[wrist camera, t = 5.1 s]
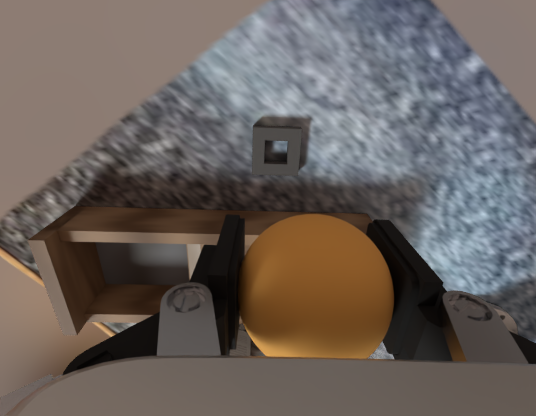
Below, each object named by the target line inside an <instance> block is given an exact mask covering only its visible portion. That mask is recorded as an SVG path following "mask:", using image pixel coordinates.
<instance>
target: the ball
mask: <svg viewBox="0 0 536 416" xmlns="http://www.w3.org/2000/svg"><path fill="white" fill-rule="evenodd" d="M393 308H394V289H393V282H392V278H391V274H390V271H389V268H388V265H387V264H386V262H385V260H384V258H383V256H382V254H381V252H380V251H379V249H378V248H377V247H376V246H375V244H374V243H373V242H372V241H371V240H370V239H369V238H368V237H367V236H366V235H365V234H364V233H363V232H362V231H360V230H359V229H357V228H356V227H355V226H353V225H351V224H349V223H348V222H346V221H343V220H341V219H338V218H335V217H332V216H328V215H322V214H303V215H296V216H293V217H289V218H286V219H284V220H281V221H279V222H277V223H275V224H273V225H272V226H270V227H269V228H267V229H266V230H265V231H264V232H263V233H262V234H260V235H259V236H258V237H257V238H256V240H255V241H254V242H253V243H252V245H251V246H250V248H249V249H248V251H247V253H246V255H245V256H244V259H243V261H242V264H241V267H240V271H239V280H238V309H239V313H240V316H241V319H242V322H243V324H244V327H245V329H246V331H247V332H248V334H249V336H250V338H251V339H252V341H253V342H254V343H255V344H256V346H257V347H258V348H259V349H260V350H261V351H262V352H263V353H264V354H265V355H266V356H276V357H322V358H361V359H367V358H368V357H369V356H370V355H371V354H372V353H373V352H374V351H375V350H376V349H377V347H378V346H379V345H380V343H381V342H382V340H383V339H384V337H385V335H386V333H387V330H388V328H389V325H390V322H391V320H392V315H393Z"/></svg>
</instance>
